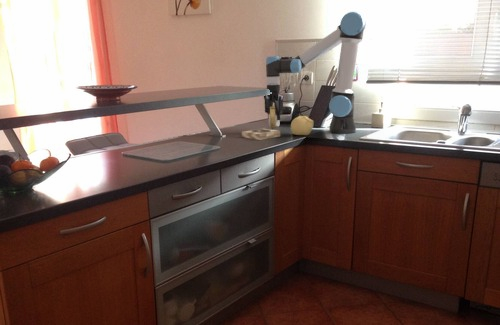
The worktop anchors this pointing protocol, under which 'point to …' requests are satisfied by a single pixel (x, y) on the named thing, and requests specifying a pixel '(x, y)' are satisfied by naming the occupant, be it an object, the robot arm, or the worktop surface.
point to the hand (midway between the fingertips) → (274, 125)
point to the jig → (260, 134)
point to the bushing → (272, 117)
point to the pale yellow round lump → (301, 125)
